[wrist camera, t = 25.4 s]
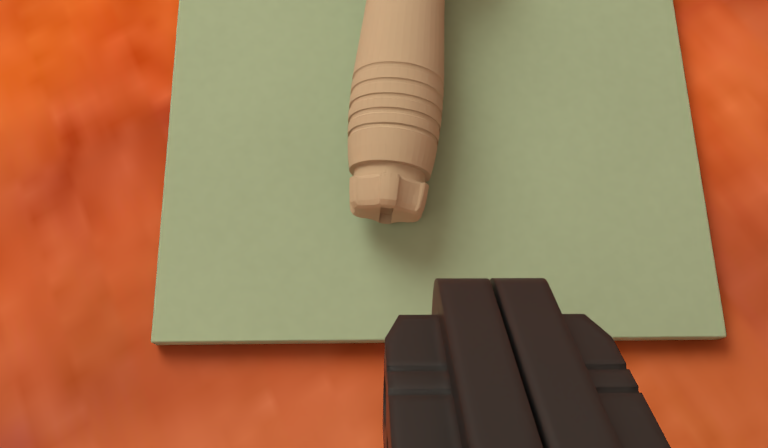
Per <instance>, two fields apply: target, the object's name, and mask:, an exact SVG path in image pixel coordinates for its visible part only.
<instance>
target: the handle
mask: <svg viewBox="0 0 768 448" xmlns="http://www.w3.org/2000/svg"><path fill="white" fill-rule="evenodd" d="M444 11H445V0H366V5H365V11H364V17H363V22H362V28H361V33H360V39H359V44H358V50H357V55H356V61H355V66H354V72H353V77H352V80H353V81H352V85H351V95H350V102H349V113H348V123H349V124H348V162H349V172H350V173H351V174H352V175H353V176H352V177H350V182H349V194H350V198H349V200H350V211H351V212H352V214H353V215H354V216H356V217H360V218H367V219H372V220H375V221H377V222H379V223H382V224H391V223H395V222H416V221H418V220H419V219H420V218H421V217H422V213H423V211H424V208H425V204H426V200H427V195H428V189H429V185H428V184H427V183H425V182H427V181H428V180H429V179H430V177H431V173H432V170H433V166H434V162H435V157H436V153H437V145H438V141H439V134H440V132H439V131H440V128H441V120H442V118H441V117H442V109H443V96H444V89H443V88H444Z"/></svg>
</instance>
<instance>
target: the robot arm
mask: <svg viewBox="0 0 768 448" xmlns="http://www.w3.org/2000/svg"><path fill="white" fill-rule="evenodd" d="M383 441H384V448H671V447H670V445H669V444H668V442H667V440H666V438H665V436H664V434H663V432H662V430H661V429H660V427H659V425H658V423H657V421H656V419H655V417H654V415H653V413H652V412H651V410H650V408H649V406H648V404H647V402H646V400H645V398H644V397H643V395H642V393H639V392H638V385H637V383H636V381H635V380H634V378H633V376H632V374H631V372H630V370H629V369H626V363H625V361H624V359H623V357H622V355H621V353H620V351H619V349H618V348H617V346H616V344H615V342H614V340H613V338H612V337H611V336H610V335H609V334H608V333H607V332H605V331H604V330H603V329H602V328H601V327H599V326H598V325H597V324H596V323H595V322H594V321H592V320H591V319H590V318H589V317H588V316H586V315H585V314H562V313H561V310H560V308H559V306H558V304H557V301H556V299H555V297H554V295H553V293H552V290H551V288H550V286H549V284H548V282H547V280H546V279H545V278H491V279H490V280H489V279H488V278H436V279H435V281H434V287H433V299H432V315H399V316H398V317H397V319H396V321H395V322H394V324H393V326H392V327H391V329H390V331H389V332H388V334H387V336H386V337H385V356H384V394H383Z"/></svg>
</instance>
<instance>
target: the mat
mask: <svg viewBox="0 0 768 448" xmlns="http://www.w3.org/2000/svg"><path fill="white" fill-rule="evenodd" d="M365 5H366V0H179V10H178V22H177V34H176V46H175V58H174V70H173V82H172V94H171V106H170V118H169V130H168V142H167V155H166V167H165V179H164V191H163V203H162V215H161V227H160V239H159V251H158V263H157V275H156V287H155V299H154V312H153V324H152V336H151V342H152V343H154V344H156V345H206V344H310V343H385V337H386V336H387V334H388V332H389V331H390V329H391V327H392V326H393V324H394V322H395V321H396V319H397V317H398V316H399V315H432V299H433V287H434V281H435V279H436V278H488V279H489V280H490V279H491V278H545V279H546V280H547V282H548V284H549V286H550V288H551V290H552V293H553V295H554V297H555V299H556V301H557V304H558V306H559V308H560V310H561V313H562V314H585V315H586V316H588V317H589V318H590V319H591V320H592V321H594V322H595V323H596V324H597V325H598V326H599V327H601V328H602V329H603V330H604V331H605V332H607V333H608V334H609V335H610V336H611V337H612V338H613V340H614V341H622V340H718V339H721V338H724V337H726V329H725V323H724V317H723V311H722V304H721V298H720V292H719V286H718V279H717V273H716V267H715V261H714V254H713V248H712V242H711V236H710V229H709V223H708V217H707V211H706V205H705V198H704V192H703V186H702V180H701V173H700V167H699V161H698V155H697V148H696V142H695V136H694V130H693V123H692V117H691V111H690V105H689V98H688V92H687V86H686V80H685V74H684V67H683V61H682V55H681V49H680V42H679V36H678V30H677V24H676V17H675V11H674V5H673V0H445V11H444V88H443V89H444V96H443V109H442V117H441V118H442V120H441V128H440V131H439V132H440V134H439V141H438V145H437V153H436V157H435V162H434V166H433V170H432V173H431V177H430V179H429V180H428V181H427V182H425V183H427V184H428V185H429V189H428V195H427V200H426V204H425V208H424V211H423V213H422V217H421V218H420V219H419V220H418V221H416V222H395V223H391V224H382V223H379V222H377V221H375V220H372V219H367V218H360V217H356V216H354V215H353V214H352V212H351V211H350V200H349V198H350V194H349V182H350V177H352V176H353V175H352V174H351V173H350V172H349V162H348V124H349V123H348V113H349V102H350V95H351V85H352V81H353V80H352V77H353V72H354V66H355V61H356V55H357V50H358V44H359V39H360V33H361V28H362V22H363V17H364V11H365Z"/></svg>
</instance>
